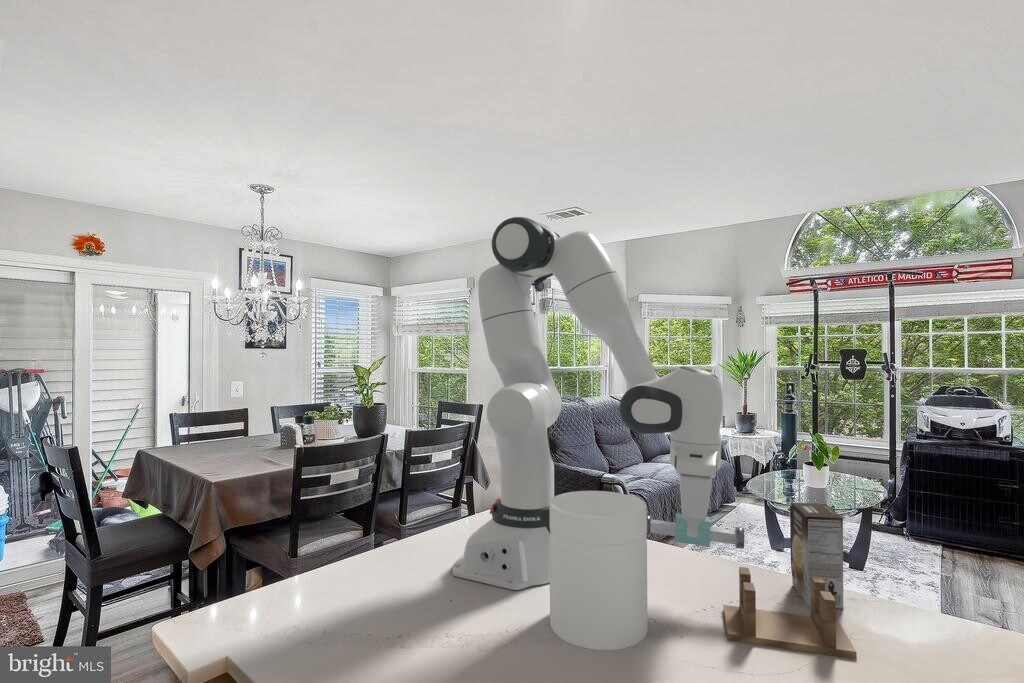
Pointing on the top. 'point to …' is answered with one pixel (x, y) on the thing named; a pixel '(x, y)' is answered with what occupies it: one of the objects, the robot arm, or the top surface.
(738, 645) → the top surface
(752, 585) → the rack
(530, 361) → the robot arm
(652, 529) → the bar
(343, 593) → the top surface
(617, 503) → the canister
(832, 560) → the coffee box
